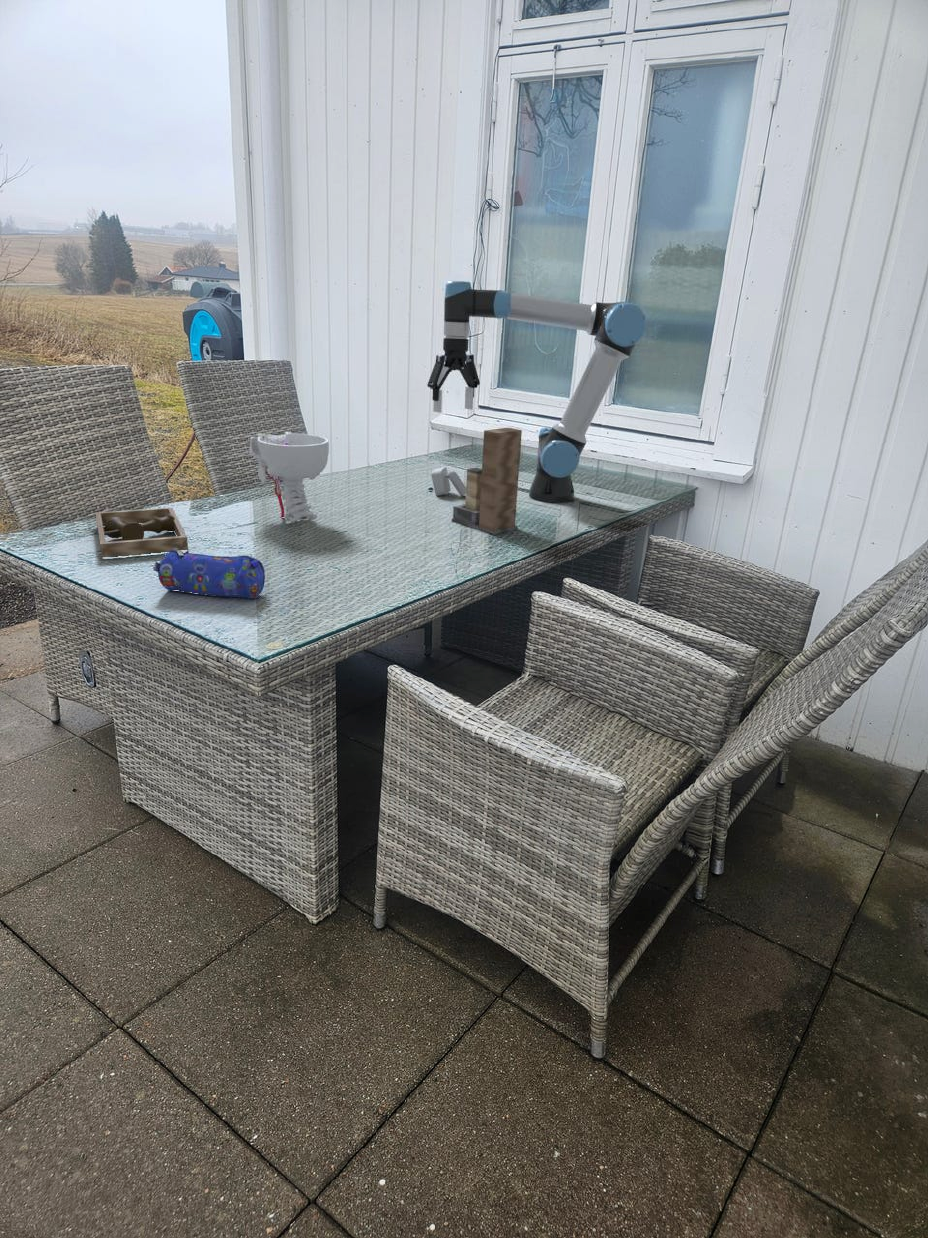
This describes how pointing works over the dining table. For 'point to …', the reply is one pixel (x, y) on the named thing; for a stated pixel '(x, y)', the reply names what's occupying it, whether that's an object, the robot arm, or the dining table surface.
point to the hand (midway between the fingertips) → (453, 410)
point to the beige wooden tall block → (473, 489)
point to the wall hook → (446, 482)
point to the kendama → (137, 527)
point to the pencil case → (211, 574)
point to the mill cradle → (143, 544)
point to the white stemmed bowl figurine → (290, 467)
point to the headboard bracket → (496, 484)
